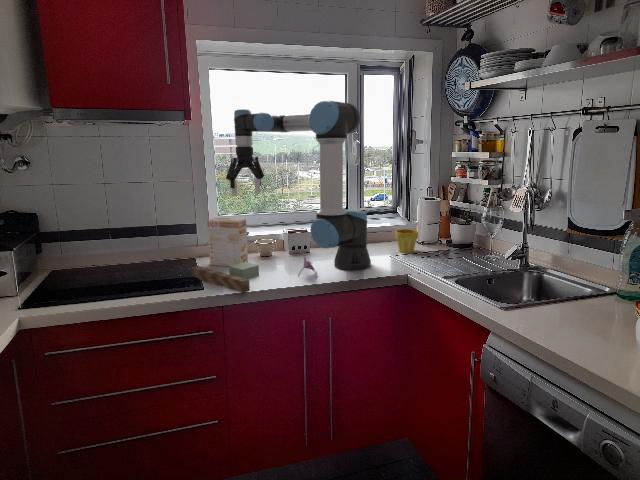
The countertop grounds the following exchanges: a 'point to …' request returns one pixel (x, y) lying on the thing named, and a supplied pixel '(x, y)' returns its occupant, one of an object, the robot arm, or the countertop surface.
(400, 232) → the plant pot
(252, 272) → the sage block
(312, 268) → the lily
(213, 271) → the walnut plank
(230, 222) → the coffeecake box
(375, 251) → the countertop surface
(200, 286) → the countertop surface
